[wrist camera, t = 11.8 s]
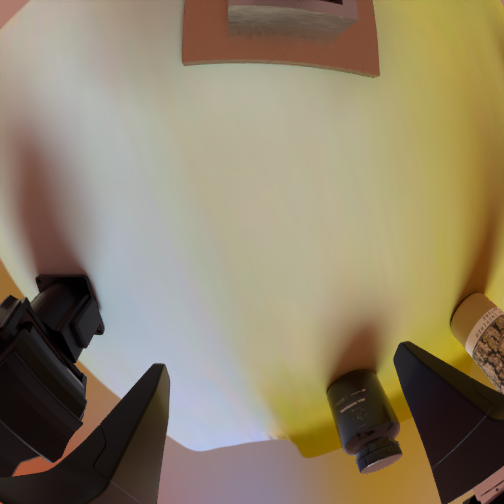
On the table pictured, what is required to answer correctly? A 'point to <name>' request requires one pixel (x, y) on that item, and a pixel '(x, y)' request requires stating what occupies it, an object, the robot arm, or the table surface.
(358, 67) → the square socket base
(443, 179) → the table surface
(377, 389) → the supplement bottle
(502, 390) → the paper tube
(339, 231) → the table surface
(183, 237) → the table surface
